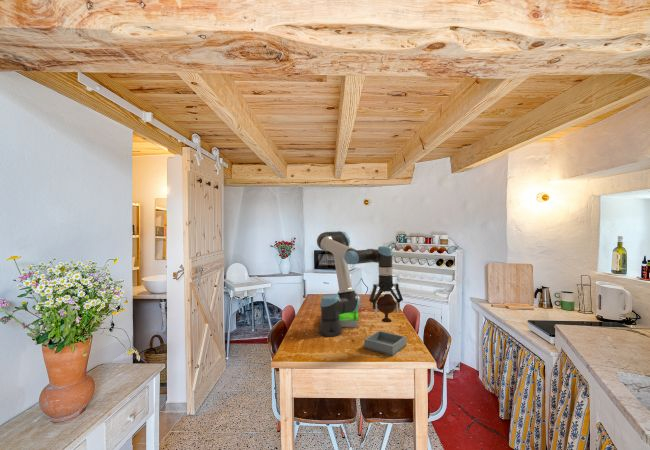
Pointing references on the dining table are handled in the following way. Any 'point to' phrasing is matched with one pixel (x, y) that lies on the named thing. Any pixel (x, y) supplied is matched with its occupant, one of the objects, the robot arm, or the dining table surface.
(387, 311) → the ice cream bowl
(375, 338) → the charcoal tray
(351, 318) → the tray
